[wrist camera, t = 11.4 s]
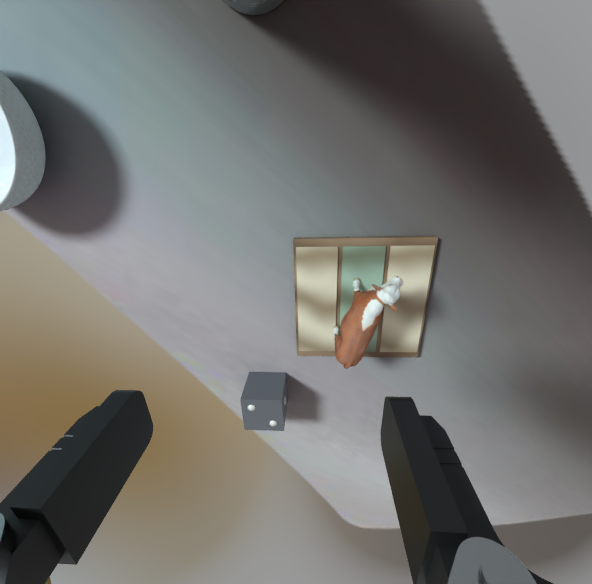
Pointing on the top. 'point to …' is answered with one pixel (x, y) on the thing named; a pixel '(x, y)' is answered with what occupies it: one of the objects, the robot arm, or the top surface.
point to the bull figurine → (363, 319)
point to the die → (264, 401)
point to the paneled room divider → (361, 289)
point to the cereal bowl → (18, 147)
